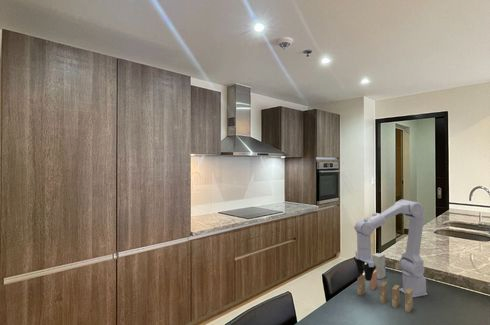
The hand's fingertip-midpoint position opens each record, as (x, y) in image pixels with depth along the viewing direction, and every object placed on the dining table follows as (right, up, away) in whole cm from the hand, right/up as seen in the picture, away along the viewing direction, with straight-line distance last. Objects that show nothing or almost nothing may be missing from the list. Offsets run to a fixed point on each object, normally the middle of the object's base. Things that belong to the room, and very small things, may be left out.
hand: (364, 276), depth 124 cm
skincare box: (+18, -10, +22) cm, 30 cm away
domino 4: (+11, -10, -7) cm, 16 cm away
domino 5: (+14, -10, -10) cm, 20 cm away
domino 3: (+7, -10, -3) cm, 13 cm away
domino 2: (+9, -10, +10) cm, 16 cm away
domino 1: (0, -10, +4) cm, 11 cm away
